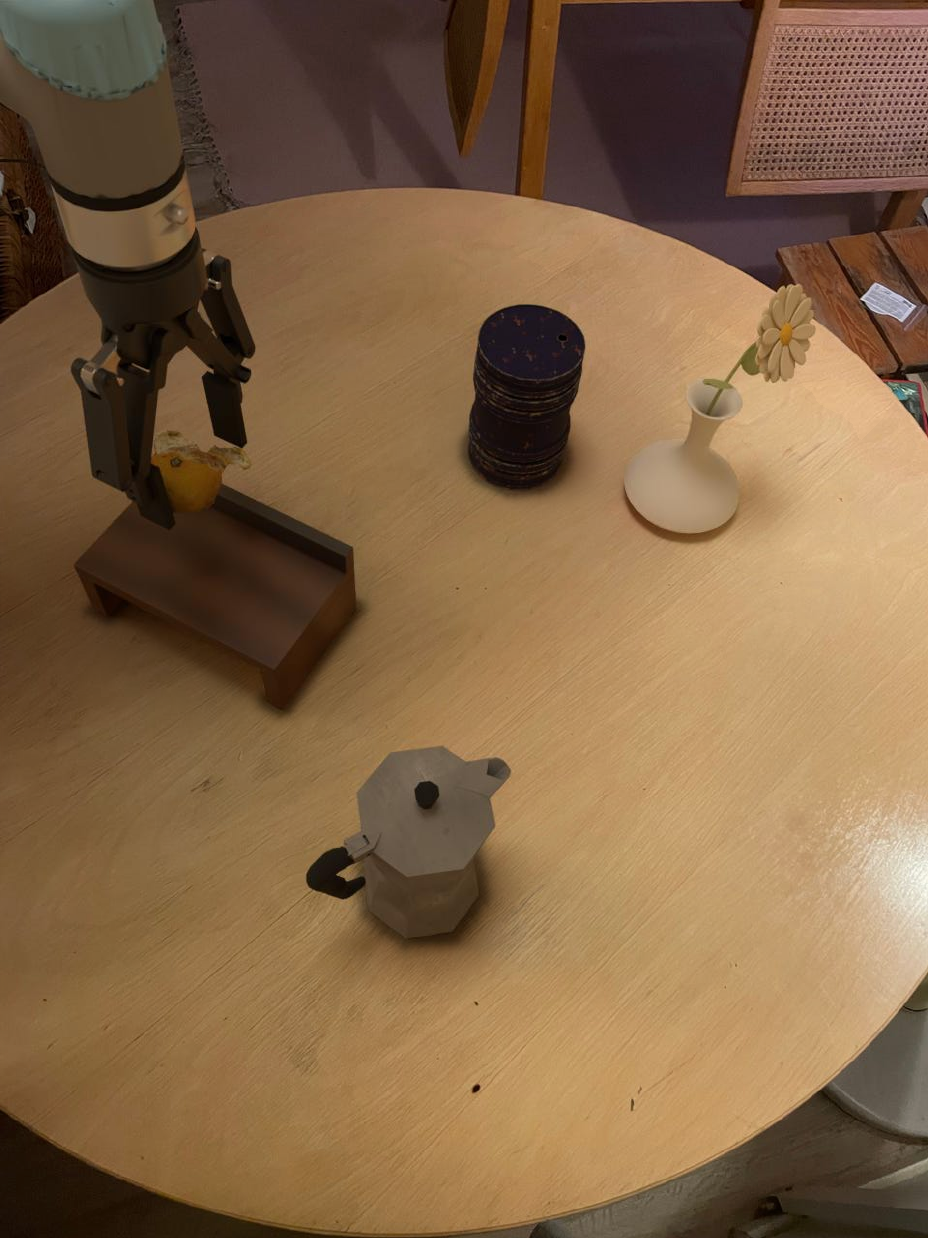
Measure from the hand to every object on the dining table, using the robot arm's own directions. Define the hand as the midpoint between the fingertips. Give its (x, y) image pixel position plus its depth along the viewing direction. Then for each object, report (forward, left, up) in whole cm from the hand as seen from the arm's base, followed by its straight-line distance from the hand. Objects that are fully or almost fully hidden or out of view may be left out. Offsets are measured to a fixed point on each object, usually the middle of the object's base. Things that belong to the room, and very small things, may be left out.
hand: (195, 478), depth 81 cm
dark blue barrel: (+16, +28, -16) cm, 36 cm away
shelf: (+1, -2, -16) cm, 16 cm away
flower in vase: (+33, +32, -16) cm, 49 cm away
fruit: (0, +1, 0) cm, 1 cm away
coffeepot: (+29, -16, -16) cm, 36 cm away
